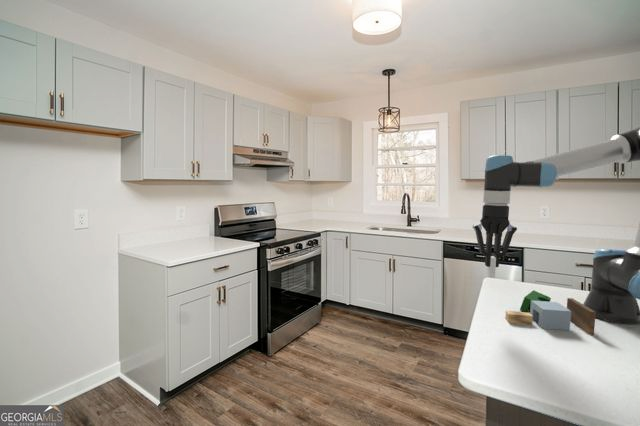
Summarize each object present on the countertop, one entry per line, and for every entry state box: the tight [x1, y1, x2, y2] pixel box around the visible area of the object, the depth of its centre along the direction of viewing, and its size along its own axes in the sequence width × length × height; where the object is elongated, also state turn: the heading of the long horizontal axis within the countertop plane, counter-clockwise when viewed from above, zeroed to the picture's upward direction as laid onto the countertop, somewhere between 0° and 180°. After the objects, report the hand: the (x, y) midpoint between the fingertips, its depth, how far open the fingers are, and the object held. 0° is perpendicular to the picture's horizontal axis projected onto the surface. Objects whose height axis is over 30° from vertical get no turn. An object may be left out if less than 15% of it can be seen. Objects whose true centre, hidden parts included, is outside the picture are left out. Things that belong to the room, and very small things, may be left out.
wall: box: [566, 297, 596, 335], centre depth 106 cm, size 2×12×7 cm, turn 171°
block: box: [529, 300, 571, 331], centre depth 107 cm, size 8×8×6 cm
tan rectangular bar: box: [504, 310, 534, 326], centre depth 109 cm, size 7×3×3 cm, turn 76°
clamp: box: [519, 289, 552, 313], centre depth 118 cm, size 12×6×9 cm
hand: (490, 276), depth 109 cm, fingers closed
